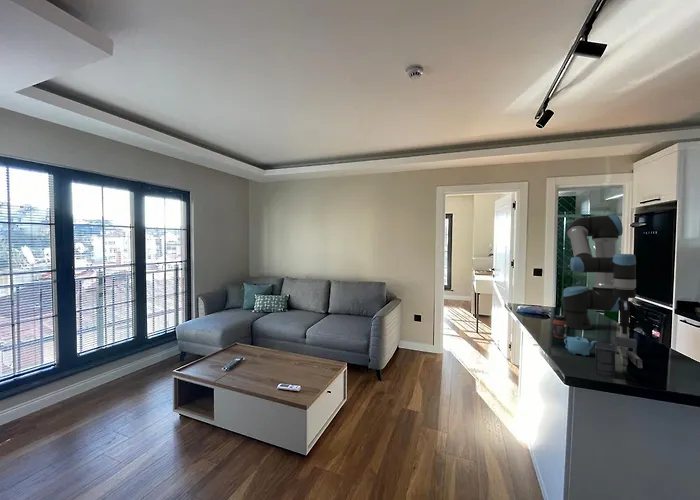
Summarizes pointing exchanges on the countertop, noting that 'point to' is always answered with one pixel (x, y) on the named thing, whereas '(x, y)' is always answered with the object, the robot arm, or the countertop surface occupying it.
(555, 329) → the supplement bottle
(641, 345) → the countertop surface
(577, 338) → the blue teapot
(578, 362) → the countertop surface
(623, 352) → the tongs fixed
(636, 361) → the tongs jaw
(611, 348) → the box
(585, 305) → the robot arm
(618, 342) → the collar
